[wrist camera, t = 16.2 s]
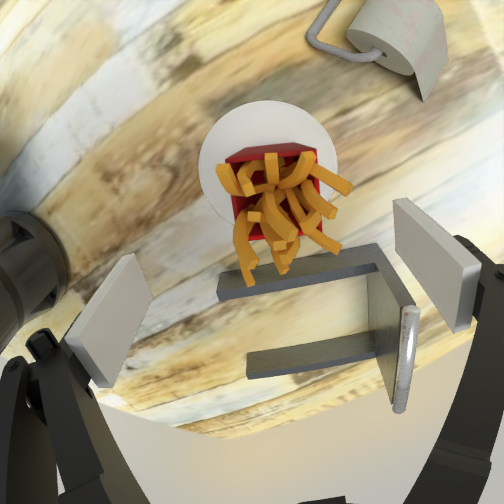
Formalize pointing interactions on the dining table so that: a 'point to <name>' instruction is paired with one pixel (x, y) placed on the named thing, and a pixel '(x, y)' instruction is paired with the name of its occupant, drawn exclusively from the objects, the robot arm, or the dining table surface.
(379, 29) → the toilet paper roll
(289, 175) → the french fries
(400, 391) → the gray bracket
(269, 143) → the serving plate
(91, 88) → the dining table surface
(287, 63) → the dining table surface
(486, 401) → the robot arm
